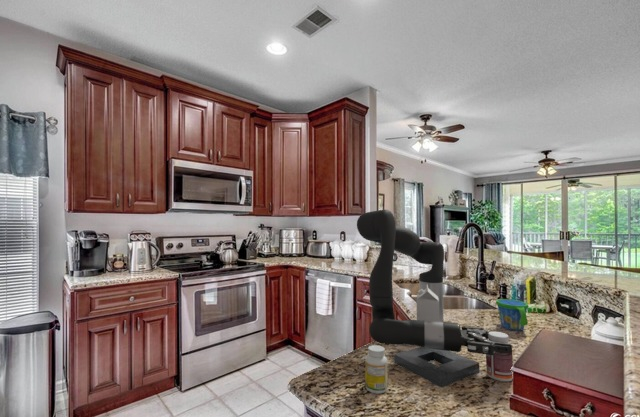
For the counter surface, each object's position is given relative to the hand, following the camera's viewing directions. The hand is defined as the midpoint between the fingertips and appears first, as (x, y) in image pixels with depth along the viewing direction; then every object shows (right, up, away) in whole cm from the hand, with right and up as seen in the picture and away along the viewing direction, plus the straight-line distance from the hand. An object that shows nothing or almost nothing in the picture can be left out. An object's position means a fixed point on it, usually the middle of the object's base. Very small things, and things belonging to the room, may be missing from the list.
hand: (507, 342), depth 82 cm
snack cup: (+26, -12, +40) cm, 49 cm away
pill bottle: (-2, -9, 0) cm, 9 cm away
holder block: (-17, -9, +5) cm, 20 cm away
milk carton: (-13, -11, +24) cm, 29 cm away
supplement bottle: (-36, -9, -6) cm, 37 cm away
